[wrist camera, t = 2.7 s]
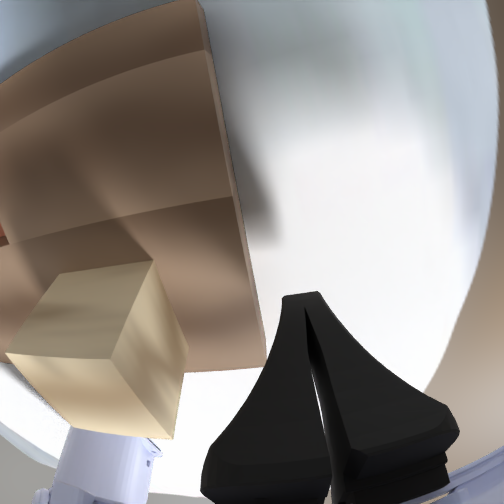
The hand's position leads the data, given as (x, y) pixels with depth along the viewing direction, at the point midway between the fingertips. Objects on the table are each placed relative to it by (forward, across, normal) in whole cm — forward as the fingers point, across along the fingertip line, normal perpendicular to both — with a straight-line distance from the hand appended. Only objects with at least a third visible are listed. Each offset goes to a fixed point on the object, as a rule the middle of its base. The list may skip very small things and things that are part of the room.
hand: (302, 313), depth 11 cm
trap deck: (+3, +20, -4) cm, 20 cm away
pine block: (+1, +8, 0) cm, 8 cm away
